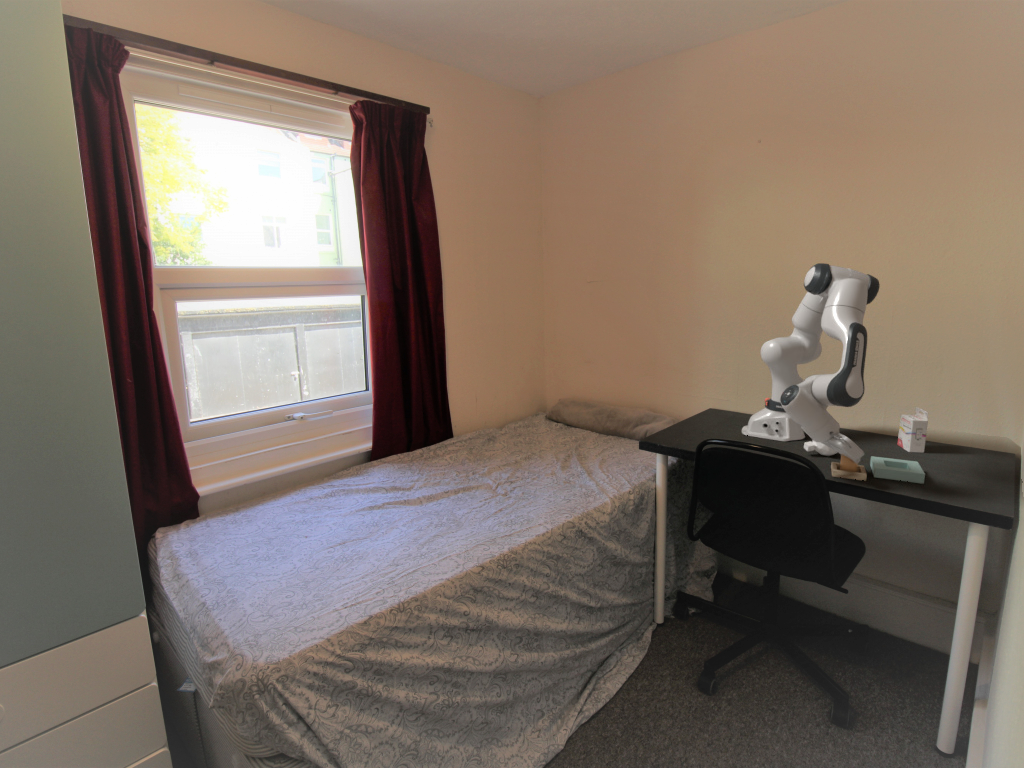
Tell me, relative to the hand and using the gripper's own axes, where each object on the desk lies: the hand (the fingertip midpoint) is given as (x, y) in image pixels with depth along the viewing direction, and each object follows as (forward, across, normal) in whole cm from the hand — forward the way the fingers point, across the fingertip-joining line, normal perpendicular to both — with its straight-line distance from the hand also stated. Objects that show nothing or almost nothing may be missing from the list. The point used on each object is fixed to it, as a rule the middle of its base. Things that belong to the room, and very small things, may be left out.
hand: (851, 458), depth 162 cm
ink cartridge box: (+29, +24, -21) cm, 43 cm away
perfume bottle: (+5, +19, +3) cm, 20 cm away
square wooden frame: (+3, 0, +4) cm, 5 cm away
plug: (+3, 0, +4) cm, 5 cm away
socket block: (+14, 0, -6) cm, 15 cm away
